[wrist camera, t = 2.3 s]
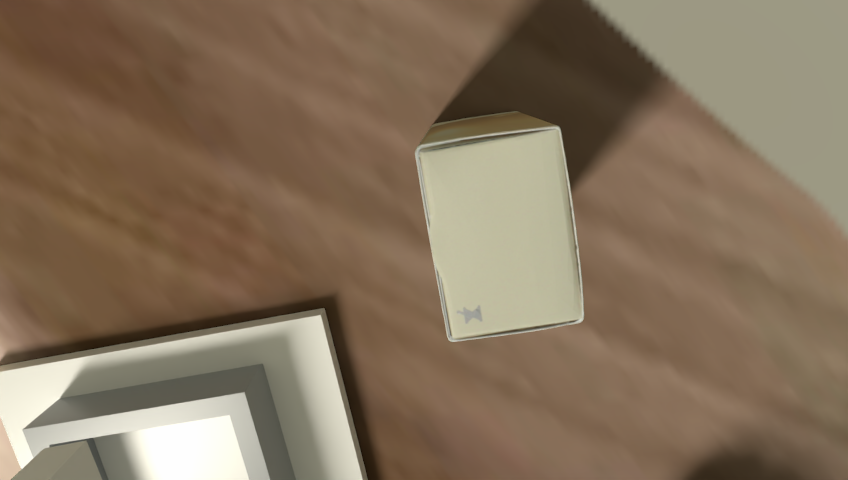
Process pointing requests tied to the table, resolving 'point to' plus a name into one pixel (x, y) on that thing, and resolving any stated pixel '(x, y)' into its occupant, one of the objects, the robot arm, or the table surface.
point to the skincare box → (500, 225)
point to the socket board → (194, 404)
